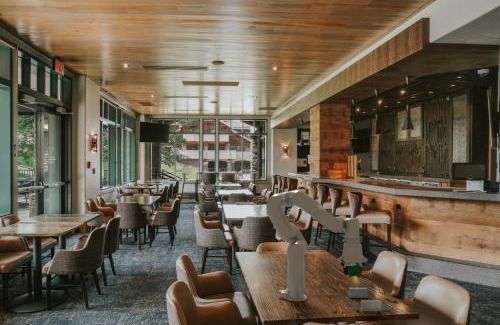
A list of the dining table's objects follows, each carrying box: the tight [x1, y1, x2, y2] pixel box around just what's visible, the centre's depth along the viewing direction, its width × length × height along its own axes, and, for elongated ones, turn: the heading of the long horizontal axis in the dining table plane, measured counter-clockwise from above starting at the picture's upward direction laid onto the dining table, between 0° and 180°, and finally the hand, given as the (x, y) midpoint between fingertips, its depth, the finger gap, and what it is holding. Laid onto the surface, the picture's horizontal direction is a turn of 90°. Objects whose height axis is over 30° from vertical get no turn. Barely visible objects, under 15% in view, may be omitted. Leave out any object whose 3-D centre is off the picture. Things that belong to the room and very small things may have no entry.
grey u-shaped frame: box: [344, 296, 389, 312], centre depth 221 cm, size 17×20×5 cm
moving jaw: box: [348, 287, 369, 299], centre depth 233 cm, size 10×2×5 cm, turn 93°
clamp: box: [346, 263, 363, 279], centre depth 220 cm, size 12×6×9 cm, turn 176°
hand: (352, 274), depth 220 cm, fingers closed on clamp, 7 cm apart
